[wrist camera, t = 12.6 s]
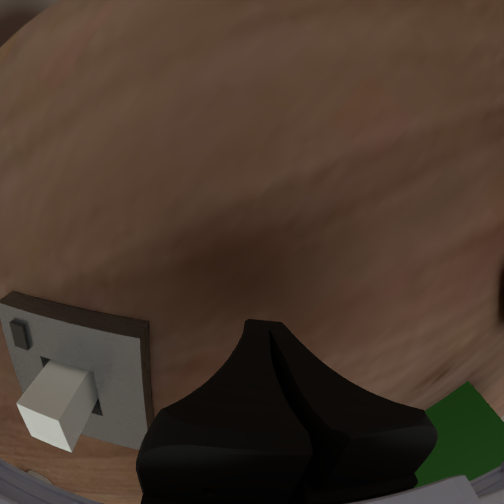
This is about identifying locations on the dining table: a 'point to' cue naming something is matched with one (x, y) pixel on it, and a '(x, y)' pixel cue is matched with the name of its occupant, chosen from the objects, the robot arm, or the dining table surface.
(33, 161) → the dining table surface
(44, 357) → the socket
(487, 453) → the hardback book
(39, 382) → the plug
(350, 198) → the dining table surface
